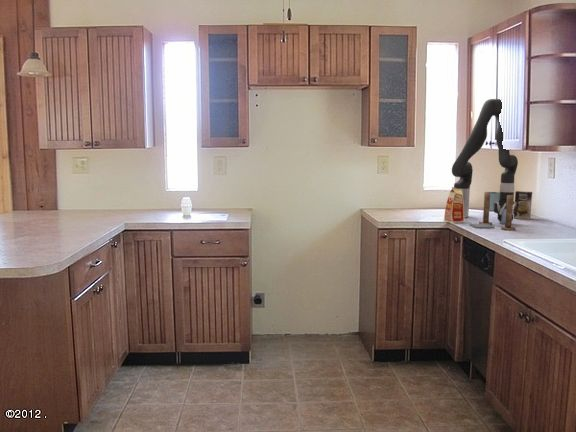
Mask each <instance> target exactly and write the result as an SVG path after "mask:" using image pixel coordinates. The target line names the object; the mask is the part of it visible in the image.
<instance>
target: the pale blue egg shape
mask: <svg viewBox="0 0 576 432" xmlns="http://www.w3.org/2000/svg"><path fill="white" fill-rule="evenodd" d="M505 223H506V209H504V210H503V211H502V213H501V221H499V224H500V225H505Z"/></svg>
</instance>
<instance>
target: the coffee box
mask: <svg viewBox="0 0 576 432" xmlns="http://www.w3.org/2000/svg"><path fill="white" fill-rule="evenodd" d="M532 199H533V191H523V190H522V191H521V190H515V191H514V202H515V203H516V202H517V203H519V207H518V211H517V213H515V214H514V215H513V220H514V219H516V220H528V221H529V220H530V219H531V218H532V217H531V214H532V202H533V201H532Z"/></svg>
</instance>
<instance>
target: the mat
mask: <svg viewBox="0 0 576 432" xmlns="http://www.w3.org/2000/svg"><path fill="white" fill-rule="evenodd" d="M469 226H470V227H472V228H474V229H495V226H494V225H493V224H492V225H489V224H479V223H469Z"/></svg>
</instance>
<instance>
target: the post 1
mask: <svg viewBox="0 0 576 432" xmlns="http://www.w3.org/2000/svg"><path fill="white" fill-rule="evenodd" d="M490 192H491V191H485V192H484V197H483V198H484V199H483V216H482V217H483V218H482V221H479V223H478V224H489V225H492V226H493V222H490V211H489V208H490Z"/></svg>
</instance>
